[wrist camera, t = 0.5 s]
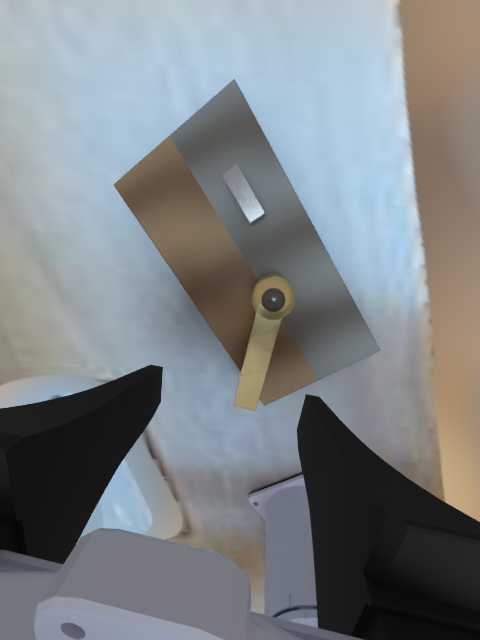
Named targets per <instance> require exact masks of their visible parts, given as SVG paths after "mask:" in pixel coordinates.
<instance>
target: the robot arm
mask: <svg viewBox="0 0 480 640" xmlns="http://www.w3.org/2000/svg"><path fill="white" fill-rule="evenodd" d="M162 371H163V367H160V366H154V365H149V366H146V367H144V368H141V369H139V370H137V371H134V372H132V373H130V374H127V375H125V376H123V377H120V378H118V379H116V380H113V381H110V382H108V383H105V384H103V385H100V386H97V387H95V388H92V389H89V390H86V391H82V392H79V393H76V394H72V395H69V396H65V397H60V398H56V399H52V400H47V401H43V402H39V403H33V404H28V405H22V406H16V407H9V408H1V409H0V640H480V522H479V521H477V520H475V519H473V518H471V517H470V516H468V515H466V514H464V513H463V512H461V511H459V510H457V509H456V508H454V507H452V506H450V505H449V504H447V503H445V502H443V501H442V500H440V499H438V498H437V497H435V496H434V495H432V494H431V493H429V492H427V491H426V490H424V489H423V488H421V487H420V486H418V485H417V484H415V483H414V482H412V481H411V480H409V479H408V478H406V477H405V476H404V475H402V474H401V473H400V472H398V471H397V470H396V469H394V468H393V467H391V466H390V465H389V464H388V463H386V462H385V461H384V460H382V459H381V458H380V457H379V456H378V455H376V454H375V453H374V452H373V451H372V450H371V449H369V448H368V447H367V446H366V445H365V444H364V443H363V442H362V441H361V440H359V439H358V438H357V437H356V436H355V435H354V434H353V433H352V432H351V431H350V430H349V429H348V428H347V427H346V426H345V425H344V424H343V422H342V421H341V420H340V419H339V418H338V417H337V416H336V415H335V414H334V413H333V412H332V410H331V409H330V408H329V407H328V406H327V405H326V404H325V403H324V402H323V400H322V399H321V398H320V397H318V396H312V395H307V394H306V397H305V401H304V405H303V408H302V412H301V416H300V420H299V424H298V427H297V437H298V450H299V456H300V461H301V467H302V472H303V474H302V475H299V476H297V477H294V478H292V479H289V480H286V481H284V482H281V483H278V484H276V485H273V486H270V487H268V488H265V489H263V490H260V491H257V492H255V493H252V494H250V495H249V502H250V503H251V505H252V506H253V507H254V509H255V510H256V511H257V513H258V514H259V515H260V516H261V518H262V519H263V520H264V522H265V615H264V614H260V613H255V612H251V611H250V608H251V589H250V583H249V578H248V576H247V575H246V573H245V572H244V571H243V570H242V569H241V568H240V567H239V566H238V565H237V564H236V563H235V562H234V561H233V560H232V559H230V558H228V557H225V556H223V555H221V554H218V553H216V552H214V551H210V550H206V549H202V548H197V547H193V546H189V545H185V544H180V543H176V542H172V541H168V540H163V539H159V538H155V537H151V536H146V535H142V534H138V533H134V532H129V531H125V530H121V529H104V528H100V529H97V530H95V531H93V532H91V533H89V534H87V535H85V536H83V537H81V538H80V540H79V541H78V539H79V537H80V536H81V534H82V532H83V529H84V528H85V526H86V524H87V522H88V520H89V518H90V516H91V514H92V513H93V511H94V509H95V507H96V505H97V504H98V502H99V500H100V498H101V496H102V494H103V493H104V491H105V489H106V487H107V486H108V484H109V482H110V480H111V479H112V477H113V475H114V473H115V472H116V470H117V468H118V467H119V465H120V464H121V462H122V461H123V459H124V458H125V456H126V455H127V453H128V452H129V450H130V449H131V448H132V446H133V445H134V443H135V442H136V441H137V439H138V438H139V436H140V435H141V434H142V432H143V431H144V429H145V428H146V427H147V425H148V424H149V422H150V421H151V419H152V417H153V416H154V414H155V412H156V410H157V408H158V406H159V404H160V402H161V387H162ZM77 541H78V543H77ZM76 543H77V544H76ZM75 545H76V546H75Z"/></svg>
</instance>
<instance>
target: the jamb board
mask: <svg viewBox="0 0 480 640" xmlns="http://www.w3.org/2000/svg"><path fill="white" fill-rule="evenodd" d="M236 164H237V165H238V167H239V169H240V170H241V172H242V174H243V176H244V177H245V179H246V181H247V183H248V184H249V186H250V188H251V190H252V191H253V193H254V195H255V197H256V198H257V200H258V202H259V204H260V205H261V207H262V209H263V211H264V212H265V218H264V219H262V220H261V221H259V222H258V223H257V224H255V225H254V226H252V225H251V224H250V222H249V220H248V219H247V217H246V215H245V213H244V212H243V210H242V208H241V207H240V205H239V203H238V202H237V200H236V198H235V197H234V195H233V193H232V191H231V190H230V188H229V186H228V185H227V183H226V181H225V180H224V178H223V176H222V175H223V174H224V173H225V172H227V171H228V170H229V169H231V168H232V167H233V166H235V165H236ZM114 186H115V188H116V189H117V191H118V192H119V194H120V195H121V197H122V198H123V199H124V201H125V202H126V204H127V205H128V207H129V208H130V210H131V211H132V213H133V214H134V216H135V217H136V219H137V220H138V221H139V223H140V224H141V226H142V227H143V229H144V230H145V232H146V233H147V235H148V236H149V238H150V239H151V241H152V242H153V243H154V245H155V246H156V248H157V249H158V251H159V252H160V254H161V255H162V257H163V258H164V260H165V261H166V263H167V264H168V265H169V267H170V268H171V270H172V271H173V273H174V274H175V276H176V277H177V279H178V280H179V282H180V283H181V285H182V286H183V287H184V289H185V290H186V292H187V293H188V295H189V296H190V298H191V299H192V301H193V302H194V304H195V305H196V306H197V308H198V309H199V311H200V312H201V314H202V315H203V317H204V318H205V320H206V321H207V323H208V324H209V326H210V327H211V328H212V330H213V331H214V333H215V334H216V336H217V337H218V339H219V340H220V342H221V343H222V345H223V346H224V348H225V349H226V350H227V352H228V353H229V355H230V356H231V358H232V359H233V361H234V362H235V364H236V365H237V367H238V368H239V370H240V371H241V370H242V366H243V362H244V358H245V354H246V349H247V345H248V341H249V337H250V333H251V329H252V325H253V321H254V317H255V313H256V311H255V309H254V308H253V305H252V294H253V291H254V288H255V285H256V283H257V281H258V280H259V279H260V278H261V277H262V276H264V275H266V274H269V273H277V274H280V275H282V276H284V277H285V278H286V279H287V280H288V282H289V283H290V285H291V287H292V288H293V290H294V293H295V304H294V307H293V309H292V310H291V312H290V313H289V314H288V315H287V316H285V317H284V318H282V319H281V323H280V326H279V330H278V333H277V337H276V341H275V344H274V348H273V351H272V355H271V358H270V362H269V365H268V369H267V372H266V376H265V379H264V383H263V386H262V390H261V394H260V397H259V399H260V400H261V402H262V403H263V405H264V406H265V405H267V404H269V403H271V402H273V401H275V400H277V399H279V398H282V397H284V396H286V395H288V394H290V393H292V392H294V391H296V390H298V389H301V388H303V387H305V386H307V385H309V384H311V383H313V382H315V381H317V380H320V379H322V378H324V377H326V376H328V375H330V374H332V373H334V372H336V371H339V370H341V369H343V368H345V367H347V366H349V365H351V364H353V363H355V362H358V361H360V360H362V359H364V358H366V357H368V356H370V355H372V354H374V353H377V352H379V351H381V350H380V349H379V347H378V345H377V343H376V341H375V339H374V337H373V336H372V334H371V332H370V330H369V328H368V326H367V324H366V323H365V321H364V319H363V317H362V315H361V313H360V311H359V310H358V308H357V306H356V304H355V302H354V300H353V298H352V297H351V295H350V293H349V291H348V289H347V287H346V285H345V284H344V282H343V280H342V278H341V276H340V274H339V272H338V271H337V269H336V267H335V265H334V263H333V261H332V259H331V258H330V256H329V254H328V252H327V250H326V248H325V246H324V245H323V243H322V241H321V239H320V237H319V235H318V233H317V232H316V230H315V228H314V226H313V224H312V222H311V220H310V218H309V217H308V215H307V213H306V211H305V209H304V207H303V205H302V204H301V202H300V200H299V198H298V196H297V194H296V192H295V191H294V189H293V187H292V185H291V183H290V181H289V179H288V178H287V176H286V174H285V172H284V170H283V168H282V166H281V165H280V163H279V161H278V159H277V157H276V155H275V153H274V152H273V150H272V148H271V146H270V144H269V142H268V140H267V139H266V137H265V135H264V133H263V131H262V129H261V127H260V126H259V124H258V122H257V120H256V118H255V116H254V114H253V113H252V111H251V109H250V107H249V105H248V103H247V101H246V100H245V98H244V96H243V94H242V92H241V90H240V88H239V86H238V85H237V83H236V81H235V79H234V80H233V81H232V82H230V83H229V84H228V85H227V86H226V87H225V88H224V89H222V90H221V91H220V92H219V93H218V94H217V95H216V96H214V97H213V98H212V99H211V100H210V101H209V102H208V103H206V104H205V105H204V106H203V107H202V108H201V109H200V110H198V111H197V112H196V113H195V114H194V115H193V116H192V117H190V118H189V119H188V120H187V121H186V122H185V123H184V124H182V125H181V126H180V127H179V128H178V129H177V130H176V131H174V132H173V133H172V134H171V135H170V136H169V137H167V138H166V139H165V140H164V141H163V142H162V143H161V144H159V145H158V146H157V147H156V148H155V149H154V150H153V151H151V152H150V153H149V154H148V155H147V156H146V157H145V158H143V159H142V160H141V161H140V162H139V163H138V164H137V165H135V166H134V167H133V168H132V169H131V170H130V171H129V172H127V173H126V174H125V175H124V176H123V177H122V178H121V179H119V180H118V181H117V182H116V183H115V184H114Z"/></svg>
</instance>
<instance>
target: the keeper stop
mask: <svg viewBox="0 0 480 640" xmlns="http://www.w3.org/2000/svg"><path fill="white" fill-rule="evenodd" d="M222 176H223V178H224V180H225V181H226V183H227V185H228V186H229V188H230V190H231V191H232V193H233V195H234V197H235V198H236V200H237V202H238V203H239V205H240V207H241V208H242V210H243V212H244V213H245V215H246V217H247V219H248V220H249V222H250V224H251V225H252V226H254V225H255V224H257V223H258V222H259V221H261V220H262V219H264V218H265V212H264V211H263V209H262V207H261V205H260V204H259V202H258V200H257V198H256V197H255V195H254V193H253V191H252V190H251V188H250V186H249V184H248V183H247V181H246V179H245V177H244V176H243V174H242V172H241V170H240V169H239V167H238V165H237V164H236V165H235V166H233V167H232V168H231V169H229V170H228V171H227V172H225V173H224V174H223V175H222Z"/></svg>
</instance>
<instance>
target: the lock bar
mask: <svg viewBox="0 0 480 640" xmlns="http://www.w3.org/2000/svg"><path fill="white" fill-rule="evenodd" d="M294 304H295V293H294V290H293V288H292V287H291V285H290V283H289V282H288V280H287V279H286V278H285V277H284V276H282V275H280V274H277V273H269V274H266V275H264V276H262V277H261V278H260V279H259V280H258V281H257V283H256V285H255V288H254V291H253V294H252V305H253V308H254V309H255V311H256V313H255V317H254V321H253V325H252V329H251V333H250V337H249V341H248V345H247V349H246V354H245V358H244V362H243V366H242V370H241V374H240V378H239V382H238V386H237V391H236V395H235V400H234V405H233V406H237V407H241V408H244V409H248V410H252V411H256V408H257V404H258V401H259V397H260V394H261V390H262V386H263V383H264V379H265V376H266V372H267V369H268V365H269V362H270V358H271V355H272V351H273V348H274V344H275V341H276V337H277V333H278V330H279V326H280V323H281V319H282V318H284V317H285V316H287V315H288V314H289V313H290V312H291V310H292V309H293V307H294Z"/></svg>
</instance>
